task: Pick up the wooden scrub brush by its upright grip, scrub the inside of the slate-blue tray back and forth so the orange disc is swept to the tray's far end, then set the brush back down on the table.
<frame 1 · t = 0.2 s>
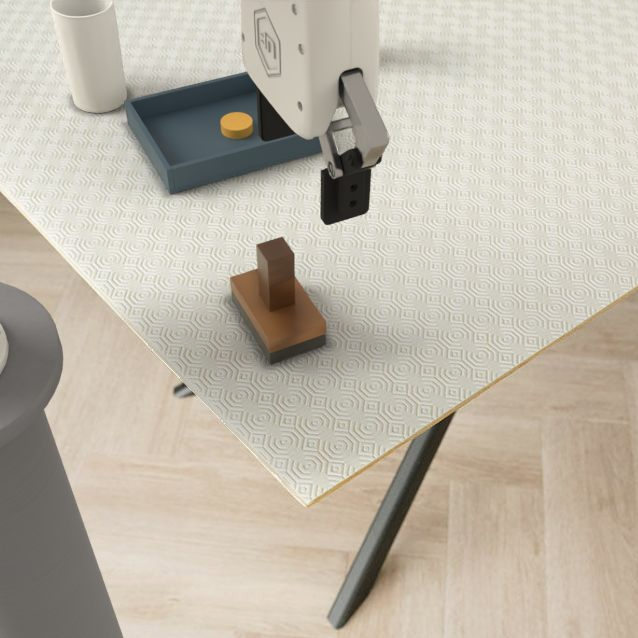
hand: (311, 174, 61), 24 cm above the table, tool pointing down, fingers open, 9 cm apart
brush: (277, 322, 84), on the table
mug: (95, 93, 109), on the table
tray: (229, 136, 103), on the table
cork: (338, 59, 116), on the table
orange disc: (237, 130, 103), point 1 cm above the table, touching tray
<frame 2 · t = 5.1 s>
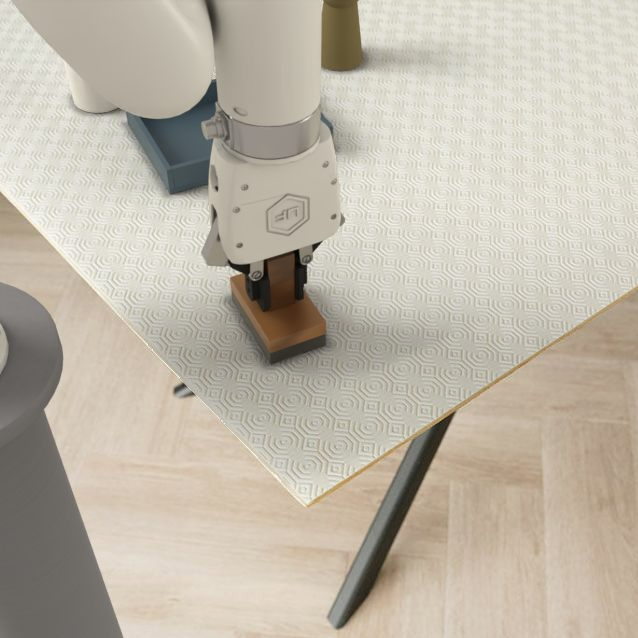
hand: (276, 294, 81), 4 cm above the table, tool pointing down, fingers closed on brush, 2 cm apart
brush: (277, 322, 84), on the table, touching gripper
everything else where it was.
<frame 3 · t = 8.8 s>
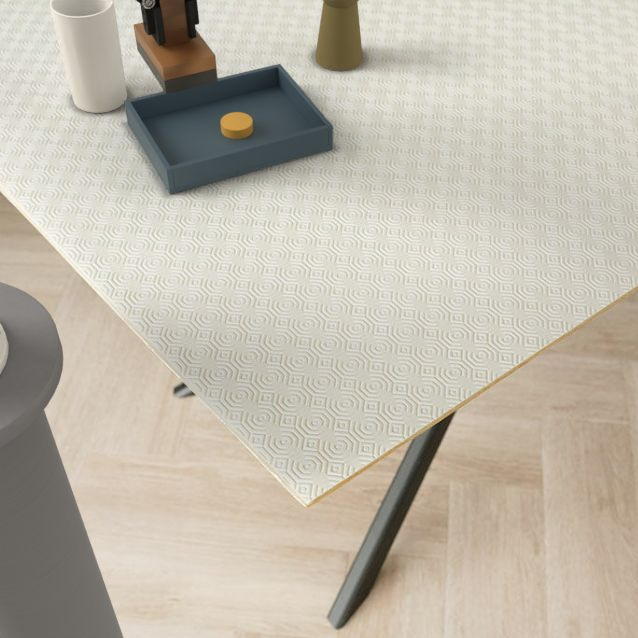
hand: (172, 34, 91), 14 cm above the table, tool pointing down, fingers closed on brush, 2 cm apart
brush: (177, 65, 94), point 10 cm above the table, touching gripper
everything else where it was.
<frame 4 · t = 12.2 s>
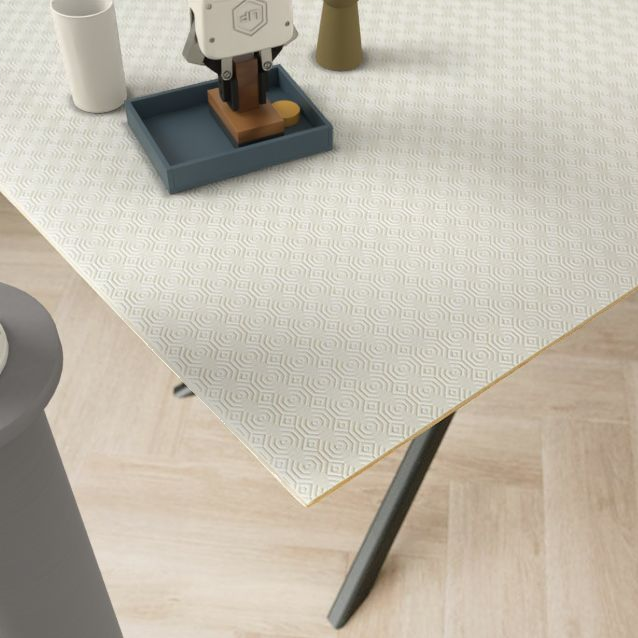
hand: (244, 100, 101), 4 cm above the table, tool pointing down, fingers closed on brush, 2 cm apart
brush: (246, 127, 104), point 1 cm above the table, touching gripper
orange disc: (284, 118, 105), point 1 cm above the table, touching tray
everything else where it was.
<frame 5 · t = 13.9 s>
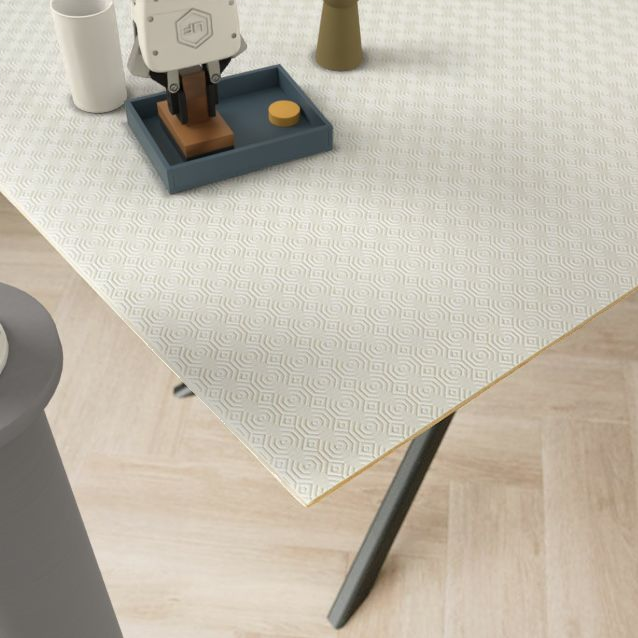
hand: (194, 112, 99), 4 cm above the table, tool pointing down, fingers closed on brush, 2 cm apart
brush: (197, 140, 102), point 1 cm above the table, touching gripper
everything else where it was.
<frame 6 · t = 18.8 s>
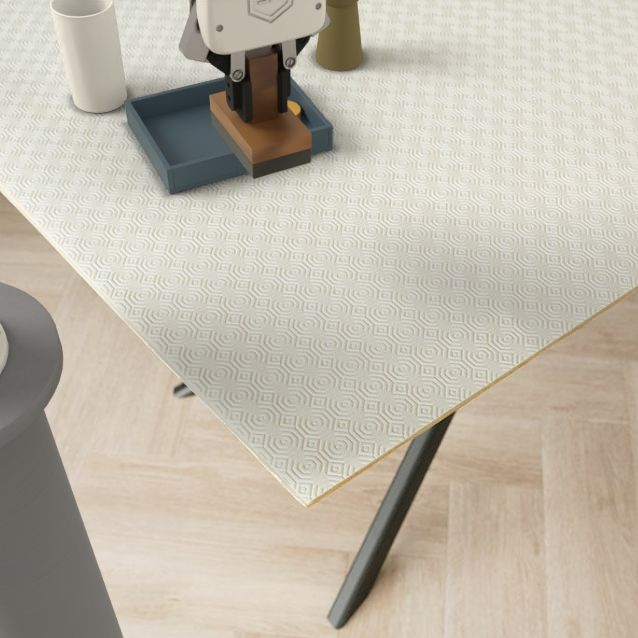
hand: (259, 108, 78), 17 cm above the table, tool pointing down, fingers closed on brush, 2 cm apart
brush: (260, 143, 80), point 13 cm above the table, touching gripper
everything else where it was.
when the fingers open (4 cm above the table, at t = 22.9 s): brush stays where it is, on the table.
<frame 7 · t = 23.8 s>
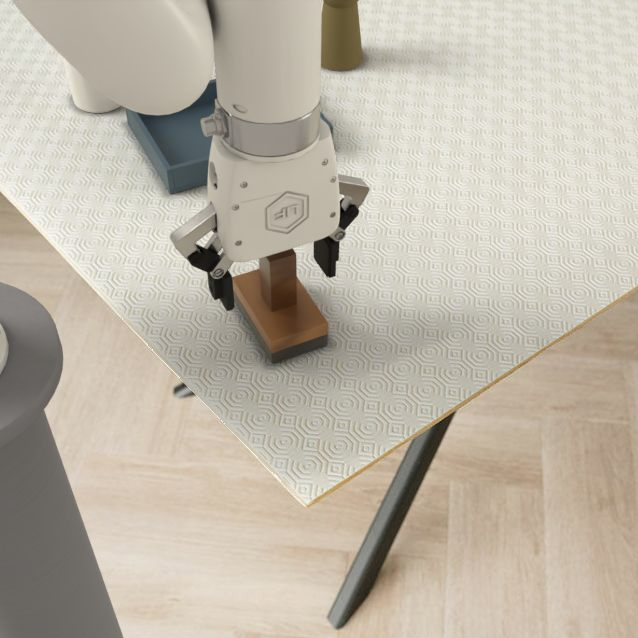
hand: (275, 283, 80), 5 cm above the table, tool pointing down, fingers open, 9 cm apart
brush: (279, 322, 84), on the table
everything else where it was.
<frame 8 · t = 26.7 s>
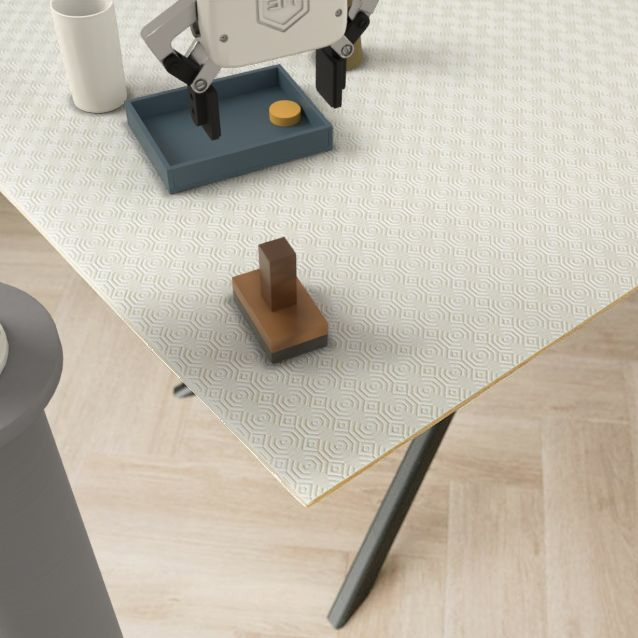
hand: (270, 114, 68), 22 cm above the table, tool pointing down, fingers open, 9 cm apart
nothing on the table moved.
at the end: orange disc inside the target area in the tray (0.2 cm from its centre), point 0.6 cm above the tray's base; brush inside the target area (0.1 cm from its centre), on the table; brush tilted 0° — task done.
